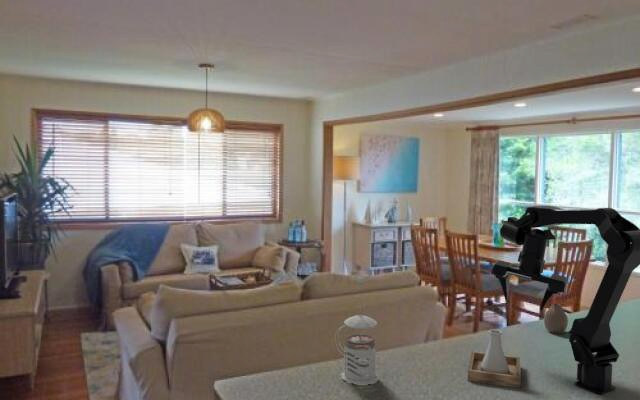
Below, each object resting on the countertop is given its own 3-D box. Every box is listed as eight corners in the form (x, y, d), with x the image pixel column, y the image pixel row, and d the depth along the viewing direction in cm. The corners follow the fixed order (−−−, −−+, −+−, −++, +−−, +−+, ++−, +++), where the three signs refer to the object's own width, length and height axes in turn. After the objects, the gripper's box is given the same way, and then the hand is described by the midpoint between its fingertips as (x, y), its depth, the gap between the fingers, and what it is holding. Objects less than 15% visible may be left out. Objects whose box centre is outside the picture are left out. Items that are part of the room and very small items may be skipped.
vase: (545, 334, 160) (546, 306, 159) (542, 327, 167) (543, 301, 166) (569, 336, 158) (570, 308, 157) (565, 329, 165) (566, 302, 164)
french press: (369, 389, 119) (370, 283, 117) (326, 378, 125) (327, 277, 123) (386, 374, 127) (387, 275, 126) (345, 365, 133) (346, 270, 132)
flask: (505, 365, 132) (506, 327, 131) (513, 376, 125) (514, 336, 124) (476, 363, 133) (477, 326, 132) (482, 375, 126) (483, 335, 125)
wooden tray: (519, 366, 133) (519, 357, 133) (520, 388, 120) (520, 377, 120) (471, 360, 137) (471, 351, 137) (467, 380, 124) (467, 370, 124)
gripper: (575, 252, 139) (564, 305, 142) (505, 236, 148) (496, 286, 152) (569, 262, 129) (558, 319, 133) (495, 245, 139) (486, 298, 143)
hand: (523, 304), depth 140 cm, fingers open, 9 cm apart
